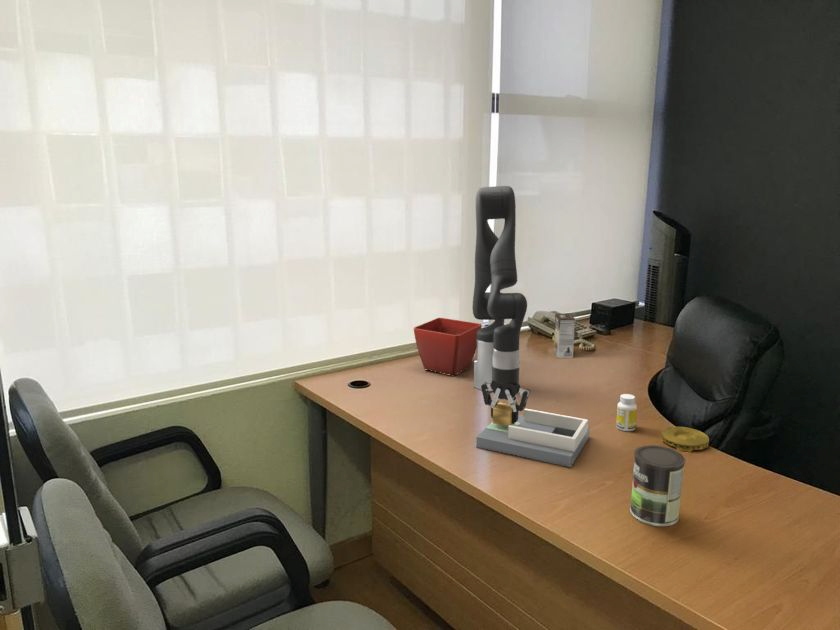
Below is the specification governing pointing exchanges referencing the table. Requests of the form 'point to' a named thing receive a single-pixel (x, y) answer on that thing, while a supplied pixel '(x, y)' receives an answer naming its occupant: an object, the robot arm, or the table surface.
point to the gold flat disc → (685, 438)
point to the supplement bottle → (626, 413)
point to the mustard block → (502, 414)
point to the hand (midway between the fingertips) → (504, 420)
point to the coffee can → (657, 485)
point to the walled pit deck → (538, 437)
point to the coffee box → (564, 335)
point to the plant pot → (446, 344)
